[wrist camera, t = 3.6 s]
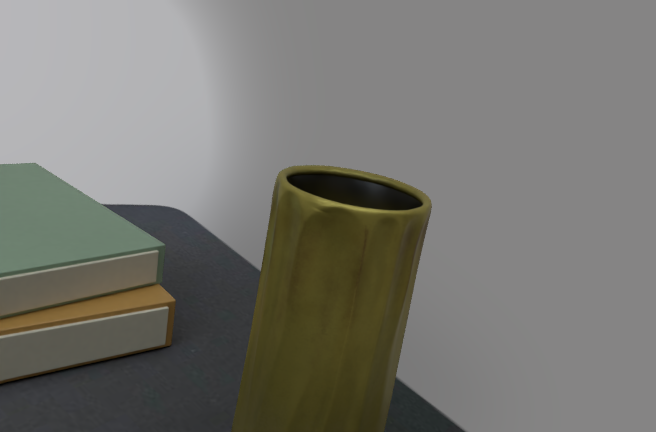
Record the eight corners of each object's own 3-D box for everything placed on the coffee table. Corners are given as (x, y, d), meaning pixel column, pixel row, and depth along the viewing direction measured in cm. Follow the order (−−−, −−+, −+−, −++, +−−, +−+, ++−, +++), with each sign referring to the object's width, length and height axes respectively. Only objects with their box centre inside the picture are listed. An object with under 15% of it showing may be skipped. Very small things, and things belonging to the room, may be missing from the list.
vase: (215, 466, 26) (260, 153, 22) (349, 470, 27) (415, 174, 23) (210, 593, 20) (269, 202, 16) (380, 591, 22) (476, 227, 17)
